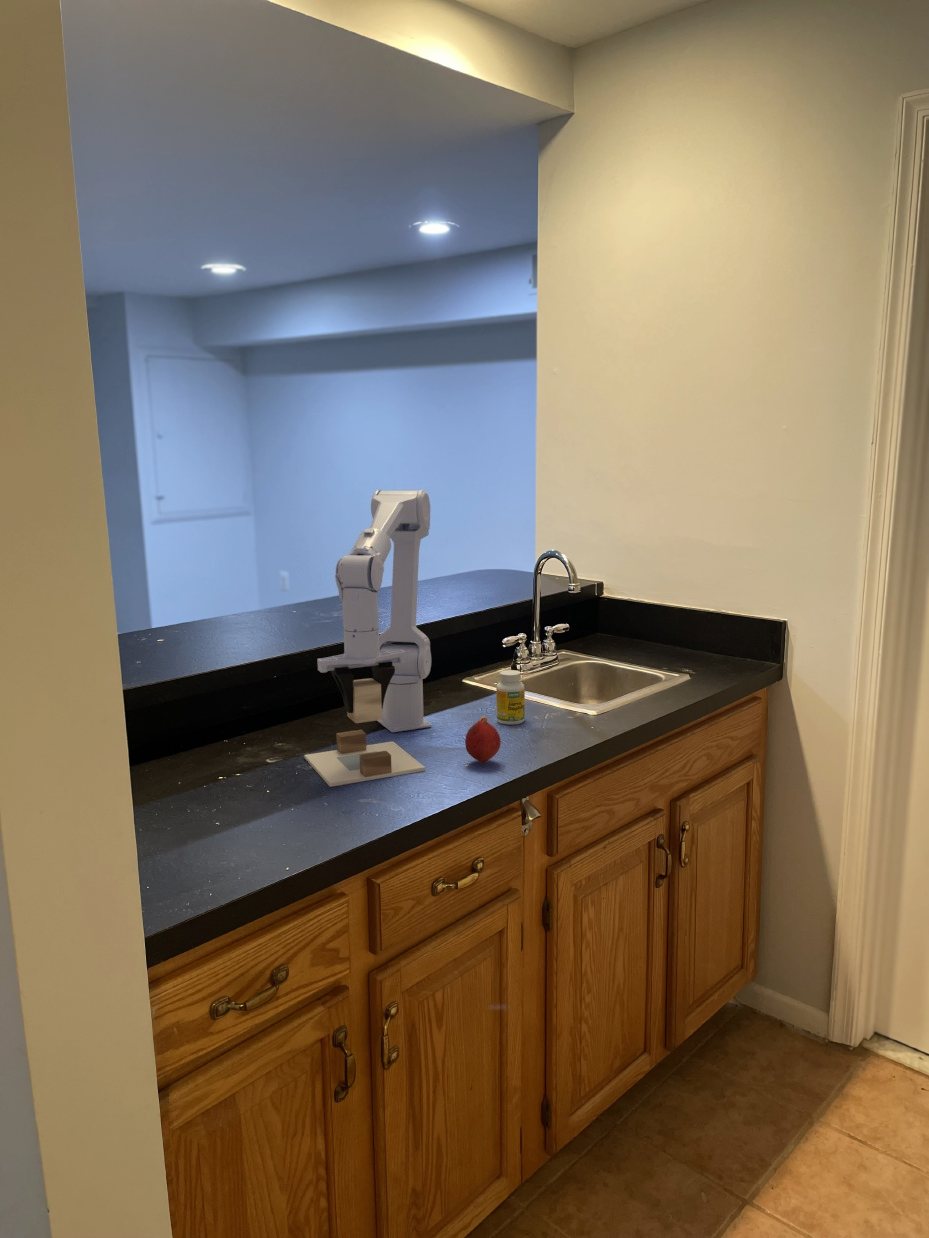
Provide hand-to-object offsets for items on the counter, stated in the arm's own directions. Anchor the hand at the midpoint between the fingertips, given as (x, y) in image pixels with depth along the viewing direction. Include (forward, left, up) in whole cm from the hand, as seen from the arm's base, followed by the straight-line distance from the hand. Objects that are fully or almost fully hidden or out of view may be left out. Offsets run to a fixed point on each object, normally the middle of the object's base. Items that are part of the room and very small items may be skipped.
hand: (364, 709), depth 154 cm
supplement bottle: (-10, +33, -10) cm, 36 cm away
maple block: (0, 0, -1) cm, 1 cm away
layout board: (0, 0, -9) cm, 9 cm away
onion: (+9, +18, -10) cm, 22 cm away
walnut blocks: (0, 0, -9) cm, 9 cm away
